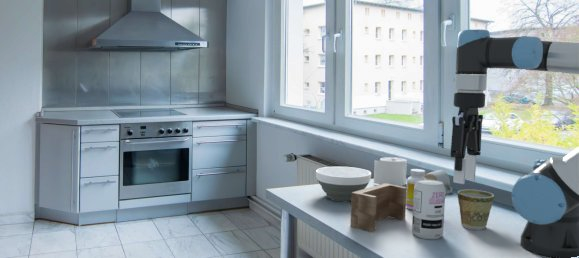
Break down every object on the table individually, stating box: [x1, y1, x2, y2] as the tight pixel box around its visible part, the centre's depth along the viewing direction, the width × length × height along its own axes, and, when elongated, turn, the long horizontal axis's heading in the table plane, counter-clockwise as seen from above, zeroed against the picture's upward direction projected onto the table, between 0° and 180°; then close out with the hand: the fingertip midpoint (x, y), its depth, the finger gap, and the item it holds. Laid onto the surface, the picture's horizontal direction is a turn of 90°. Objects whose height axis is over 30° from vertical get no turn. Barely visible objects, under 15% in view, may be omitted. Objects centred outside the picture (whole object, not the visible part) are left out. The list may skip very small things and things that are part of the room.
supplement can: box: [411, 179, 447, 240], centre depth 136 cm, size 8×8×15 cm
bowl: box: [315, 166, 372, 202], centre depth 176 cm, size 20×20×10 cm
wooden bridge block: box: [349, 183, 407, 233], centre depth 147 cm, size 8×18×10 cm, turn 137°
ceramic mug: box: [424, 169, 453, 195], centre depth 189 cm, size 11×8×8 cm
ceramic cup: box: [457, 188, 495, 231], centre depth 146 cm, size 13×10×10 cm
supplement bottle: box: [406, 168, 426, 211], centre depth 164 cm, size 7×7×13 cm
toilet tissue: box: [373, 156, 408, 187], centre depth 200 cm, size 11×12×10 cm
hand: (464, 181), depth 129 cm, fingers open, 6 cm apart
